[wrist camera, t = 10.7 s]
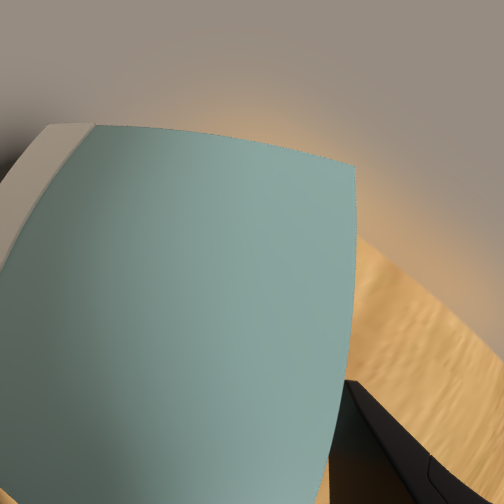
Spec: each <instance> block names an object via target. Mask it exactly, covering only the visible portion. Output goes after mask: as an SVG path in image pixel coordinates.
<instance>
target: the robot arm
mask: <svg viewBox="0 0 504 504" xmlns="http://www.w3.org/2000/svg"><path fill="white" fill-rule="evenodd" d="M328 459H329V490H330V504H492V503H490V502H488V501H487V500H485V499H484V498H482V497H481V496H480V495H478V494H477V493H476V492H474V491H473V490H472V489H470V488H469V487H468V486H466V485H465V484H464V483H462V482H461V481H460V480H459V479H457V478H456V477H455V476H454V475H453V474H451V473H450V472H449V471H448V470H447V469H446V468H445V467H444V466H442V465H441V464H440V463H439V462H438V461H437V460H436V459H435V458H434V457H433V456H432V455H430V453H429V452H428V451H427V450H426V449H425V448H424V447H423V446H422V445H421V444H420V443H419V442H418V441H417V440H416V439H415V438H414V437H413V436H412V435H411V434H410V433H409V432H408V431H407V430H406V429H405V428H404V427H403V426H402V425H401V424H400V423H399V422H398V421H397V420H396V419H395V418H394V417H393V416H392V415H391V414H390V413H389V412H388V411H387V410H386V409H385V408H384V407H383V406H382V405H381V404H380V403H379V402H378V401H377V400H376V399H375V398H374V397H373V396H372V395H371V394H370V393H369V392H368V391H367V390H366V389H365V388H364V387H363V386H362V385H361V384H360V383H359V382H358V381H353V380H344V385H343V391H342V396H341V402H340V407H339V412H338V417H337V422H336V426H335V431H334V435H333V439H332V444H331V448H330V452H329V456H328Z"/></svg>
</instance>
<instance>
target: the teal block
mask: <svg viewBox="0 0 504 504" xmlns="http://www.w3.org/2000/svg"><path fill="white" fill-rule="evenodd" d="M356 217H357V216H356V179H355V166H352V165H349V164H345V163H342V162H339V161H335V160H332V159H328V158H325V157H321V156H317V155H313V154H309V153H305V152H301V151H297V150H293V149H288V148H284V147H279V146H275V145H270V144H265V143H260V142H255V141H249V140H244V139H238V138H232V137H226V136H219V135H213V134H206V133H198V132H190V131H181V130H172V129H161V128H148V127H132V126H103V125H98V126H97V125H96V123H66V124H48V125H47V126H46V127H45V128H44V129H43V130H42V132H41V133H40V134H39V135H38V136H37V137H36V138H35V139H34V141H33V142H32V143H31V144H30V145H29V146H28V148H27V149H26V150H25V151H24V153H23V154H22V155H21V156H20V158H19V159H18V160H17V161H16V163H15V164H14V165H13V167H12V168H11V169H10V171H9V172H8V174H7V175H6V177H5V178H4V179H3V181H2V182H1V184H0V488H2V489H3V490H4V491H5V492H6V493H7V494H8V495H9V496H10V497H11V498H13V499H14V500H15V501H16V502H17V503H19V504H314V503H315V500H316V497H317V494H318V491H319V487H320V484H321V481H322V477H323V474H324V470H325V467H326V463H327V459H328V456H329V452H330V448H331V444H332V439H333V435H334V431H335V426H336V422H337V417H338V412H339V407H340V402H341V396H342V391H343V385H344V379H345V372H346V365H347V358H348V351H349V343H350V334H351V325H352V314H353V303H354V288H355V270H356V234H357V229H356V228H357V223H356V221H357V218H356Z"/></svg>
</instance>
